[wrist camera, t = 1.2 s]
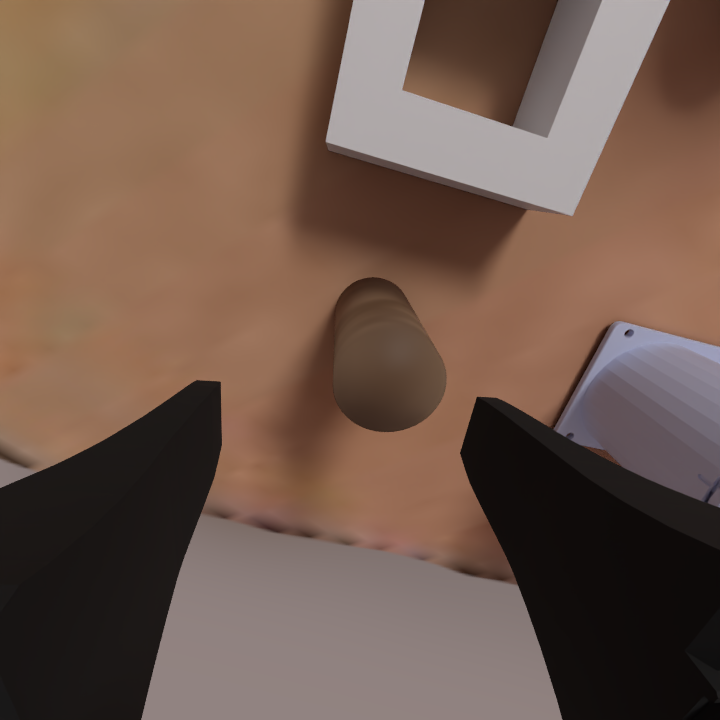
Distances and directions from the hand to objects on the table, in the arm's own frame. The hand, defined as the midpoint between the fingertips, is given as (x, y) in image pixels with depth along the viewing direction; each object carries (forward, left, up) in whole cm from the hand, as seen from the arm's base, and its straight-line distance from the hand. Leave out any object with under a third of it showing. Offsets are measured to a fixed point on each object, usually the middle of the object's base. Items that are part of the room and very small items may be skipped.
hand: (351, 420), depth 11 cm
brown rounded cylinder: (-2, 0, -11) cm, 11 cm away
